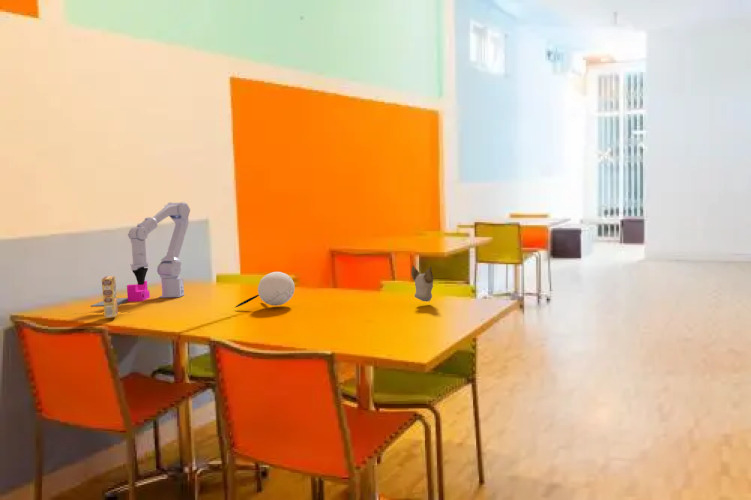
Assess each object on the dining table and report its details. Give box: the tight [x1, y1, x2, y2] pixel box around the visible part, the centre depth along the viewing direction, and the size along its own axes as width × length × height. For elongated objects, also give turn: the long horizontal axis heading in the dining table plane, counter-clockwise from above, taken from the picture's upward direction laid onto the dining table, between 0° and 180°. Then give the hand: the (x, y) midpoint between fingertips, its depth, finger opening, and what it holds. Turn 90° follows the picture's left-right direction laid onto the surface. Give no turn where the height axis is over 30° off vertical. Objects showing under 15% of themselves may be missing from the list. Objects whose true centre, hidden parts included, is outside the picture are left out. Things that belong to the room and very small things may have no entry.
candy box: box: [101, 275, 119, 319], centre depth 282 cm, size 9×4×15 cm, turn 13°
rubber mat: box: [90, 297, 128, 307], centre depth 318 cm, size 11×20×1 cm, turn 177°
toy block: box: [126, 280, 151, 303], centre depth 327 cm, size 15×6×8 cm, turn 178°
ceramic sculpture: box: [410, 265, 434, 302], centre depth 289 cm, size 11×9×15 cm
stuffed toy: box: [235, 271, 295, 308], centre depth 295 cm, size 19×14×25 cm
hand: (141, 284), depth 317 cm, fingers closed
